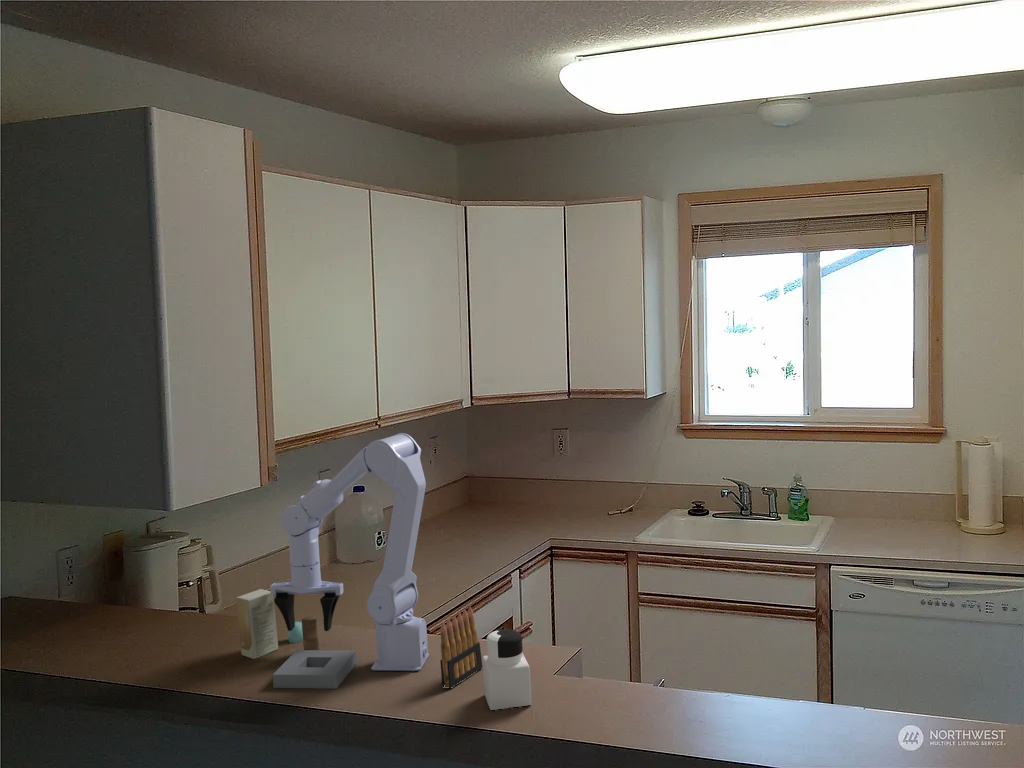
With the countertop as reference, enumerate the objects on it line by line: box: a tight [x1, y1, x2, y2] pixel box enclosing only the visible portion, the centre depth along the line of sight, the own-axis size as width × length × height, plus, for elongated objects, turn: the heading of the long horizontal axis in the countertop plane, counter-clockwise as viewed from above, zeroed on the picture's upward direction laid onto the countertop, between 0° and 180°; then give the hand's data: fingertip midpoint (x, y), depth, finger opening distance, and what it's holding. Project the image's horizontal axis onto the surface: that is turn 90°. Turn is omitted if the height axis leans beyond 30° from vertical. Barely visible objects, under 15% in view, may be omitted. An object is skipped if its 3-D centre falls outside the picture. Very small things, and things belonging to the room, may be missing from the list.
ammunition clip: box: [440, 606, 483, 688], centre depth 174 cm, size 11×2×12 cm, turn 149°
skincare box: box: [235, 588, 279, 660], centre depth 192 cm, size 6×4×12 cm
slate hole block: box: [272, 649, 358, 690], centre depth 179 cm, size 12×12×2 cm
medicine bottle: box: [481, 628, 532, 711], centre depth 163 cm, size 7×7×12 cm
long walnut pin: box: [301, 616, 320, 650], centre depth 191 cm, size 3×3×7 cm
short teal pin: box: [287, 621, 303, 644], centre depth 199 cm, size 3×3×4 cm
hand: (309, 629), depth 191 cm, fingers open, 7 cm apart
